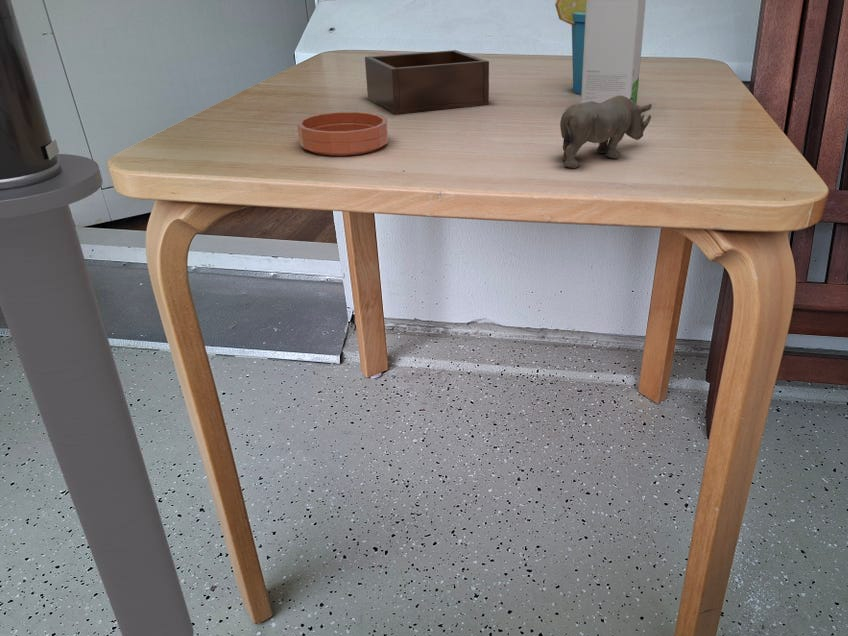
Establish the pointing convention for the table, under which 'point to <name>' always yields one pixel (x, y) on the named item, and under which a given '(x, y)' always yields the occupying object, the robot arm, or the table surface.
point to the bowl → (343, 133)
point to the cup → (575, 35)
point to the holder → (427, 81)
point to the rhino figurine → (601, 126)
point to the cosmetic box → (612, 49)
